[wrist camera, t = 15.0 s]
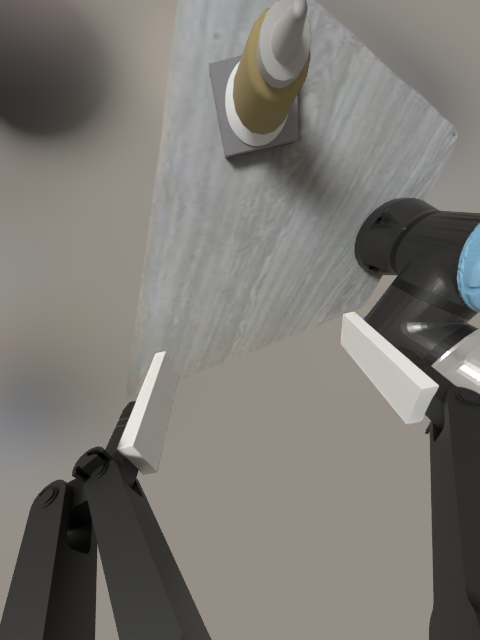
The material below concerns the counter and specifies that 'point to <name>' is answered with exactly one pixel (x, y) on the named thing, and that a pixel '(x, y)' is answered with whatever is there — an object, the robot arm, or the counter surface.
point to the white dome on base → (231, 127)
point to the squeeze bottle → (273, 66)
